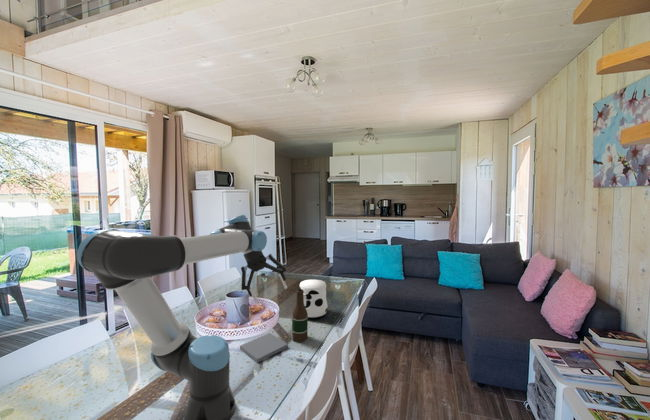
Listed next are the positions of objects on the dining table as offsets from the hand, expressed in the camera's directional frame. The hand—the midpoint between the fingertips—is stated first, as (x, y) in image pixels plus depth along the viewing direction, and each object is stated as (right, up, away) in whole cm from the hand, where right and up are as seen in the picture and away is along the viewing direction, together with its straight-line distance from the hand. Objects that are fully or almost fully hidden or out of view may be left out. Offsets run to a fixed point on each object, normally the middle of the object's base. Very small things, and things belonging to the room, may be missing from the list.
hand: (271, 294), depth 120 cm
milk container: (+16, -24, +42) cm, 51 cm away
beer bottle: (+11, -26, +15) cm, 32 cm away
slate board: (-5, -26, +6) cm, 27 cm away
